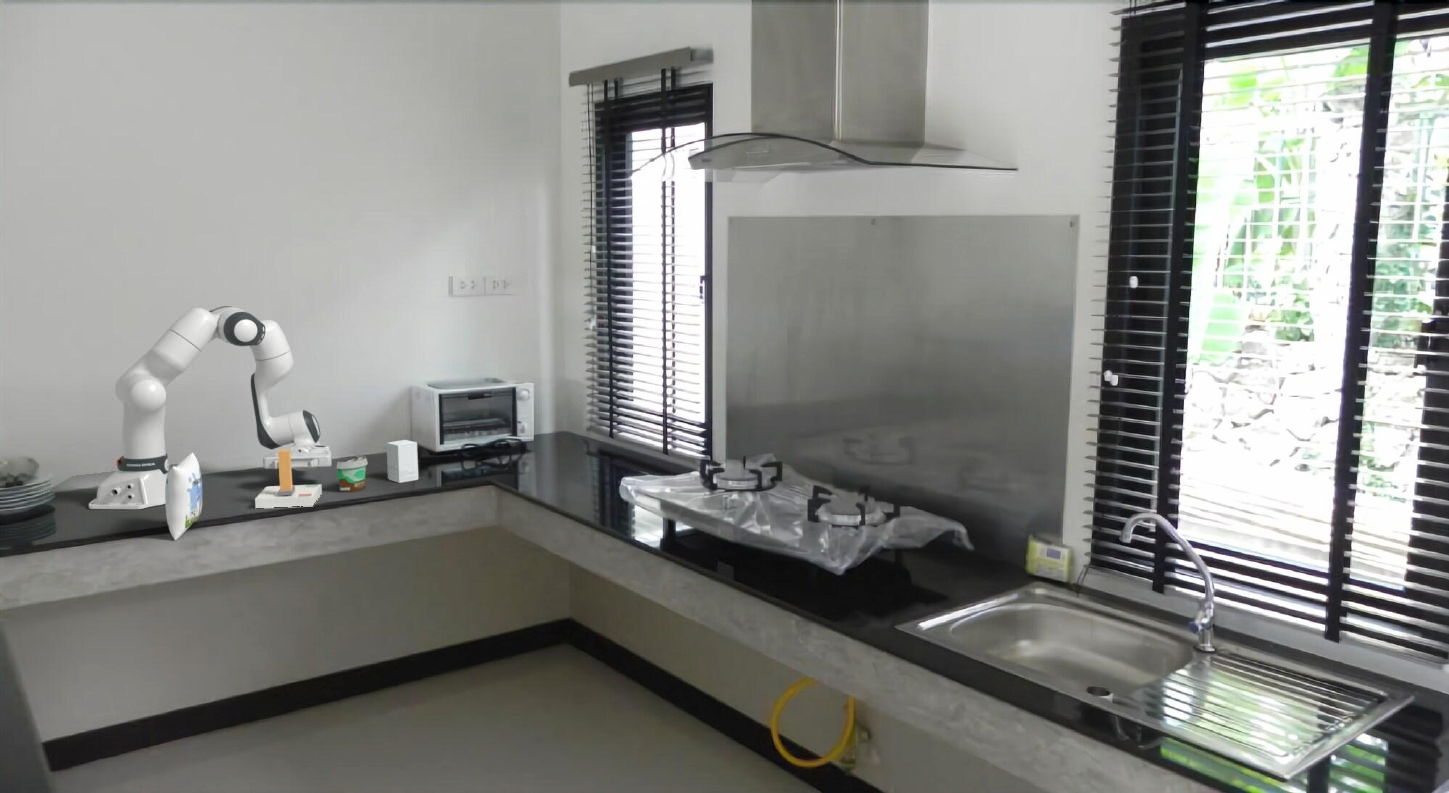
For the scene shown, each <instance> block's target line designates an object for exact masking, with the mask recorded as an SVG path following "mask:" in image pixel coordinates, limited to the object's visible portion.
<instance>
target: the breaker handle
mask: <svg viewBox="0 0 1449 793" xmlns="http://www.w3.org/2000/svg"><path fill="white" fill-rule="evenodd" d="M277 453H278V459H279V469H278V474H279V475H278V478H279V486H280V490H279V491H278V496H280V495H293V493H294V492H295V488H292V485H293V475H292V474H293V471H292V468H291V451H290V450H289V449H279V450H278V451H277Z"/></svg>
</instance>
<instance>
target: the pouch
mask: <svg viewBox="0 0 1449 793" xmlns="http://www.w3.org/2000/svg"><path fill="white" fill-rule="evenodd" d="M202 477H203V476H202V472H201V467H200V464H199V461H198V459H197V457H196V455H195V453H194V452H191V453H189V454H188V455H187V456H186V457H185V458H183V459H182V461H181V462H180V463H178V464H176V466H175V465H174V466H172V467H171V468H169V471H168V474H167V478H166V485H165V504H164V505H165V515H166V521H167V526H168V530H169V532H170V535H171V536H172V538H173V540H174V541H175V542H176V541H177V540H178V539H179V538H180V537H182V536H183V534H184V533H185V532H186V531H187V530H188V529H190V527H191V526H192V525H193V523H196V521H197V520H198V519H199V518H200V516H201V514H202V508H203V479H202Z"/></svg>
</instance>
